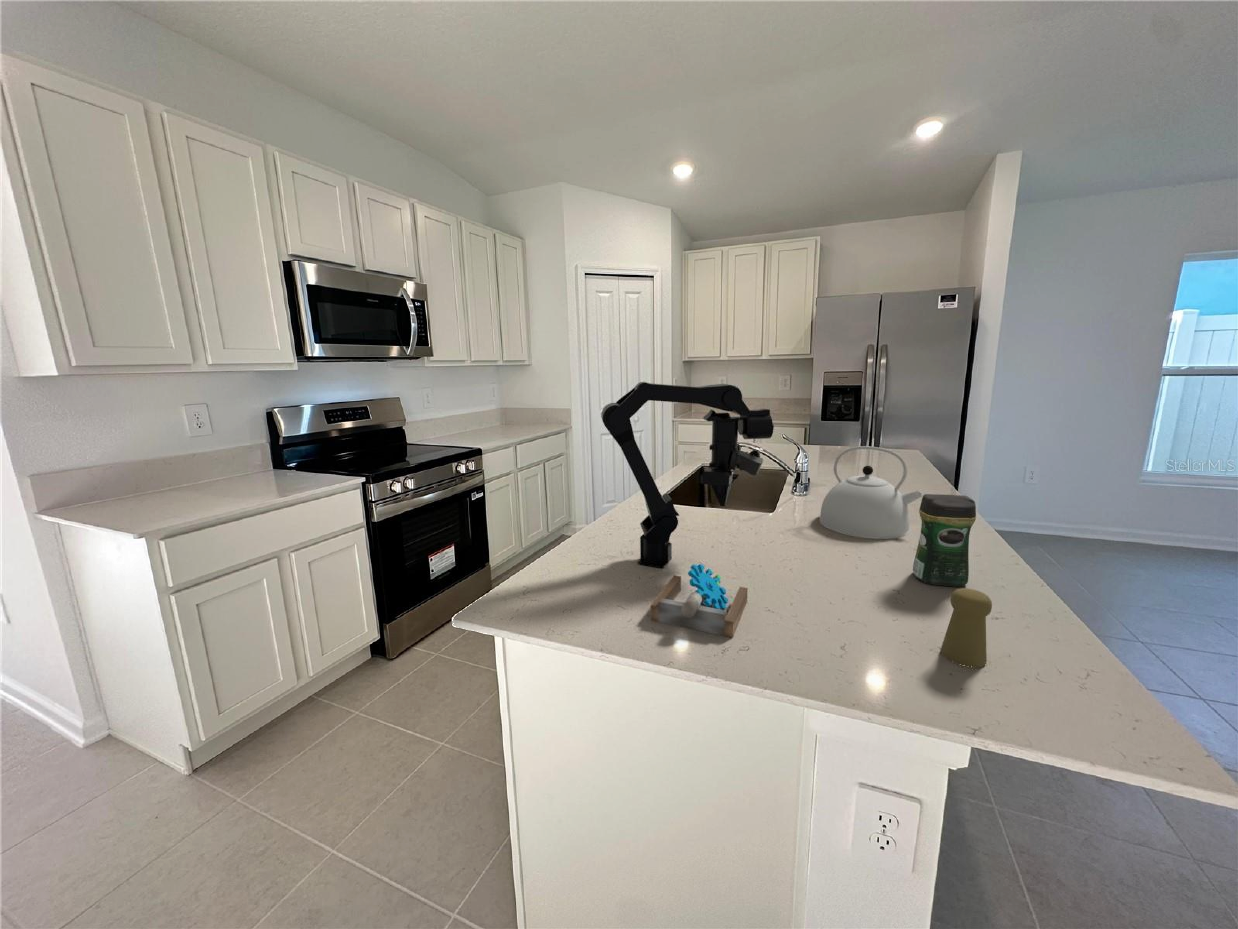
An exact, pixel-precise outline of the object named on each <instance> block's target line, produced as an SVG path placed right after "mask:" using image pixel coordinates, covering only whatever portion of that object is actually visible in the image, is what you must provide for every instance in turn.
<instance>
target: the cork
mask: <svg viewBox="0 0 1238 929" xmlns="http://www.w3.org/2000/svg"><path fill="white" fill-rule="evenodd" d="M992 602H993V601H992V600H991V598H990V597H989V595H987V594H986V593H984V592H983V591H979V590H977V589H973V588H967V587H966V588H965V587H963V588H961V587H960V588H956V589H955V590H954V591H953V592H952V594H951V596H950V605H951V607H952V609H953V610H952V613H951V616H950V619H949V623H948V624H947V625H948V626H947V629H946V632H945V634H944V638H943V641H942V645H941V647H940V650H941V651H940V653H941V655H942V656H943V657H944V658H945V657H946V658H945V659H947V660H948V661H950V662H952V661H953V662H952V663H954V662H955V663H954V664H956V663H957V664H956V665H959V664H961V665H960V666H962V665H965V666H969V667H968V668H971V666H972V667H980V668H982V667H981V666H984V665H985V664H986V665H987V663H986V662H988V661H987V659H988V658H987V655H988V654H987V616H989V615H990V614H991V612H992V607H993V603H992ZM986 665H985V666H986ZM965 666H964V667H965ZM985 666H984V667H985Z"/></svg>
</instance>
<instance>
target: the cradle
mask: <svg viewBox="0 0 1238 929" xmlns="http://www.w3.org/2000/svg"><path fill="white" fill-rule="evenodd" d="M748 588H749V587H745V586H743V587H742V586H739V588H738V589H737V591H736V595H735V596H734V599H733V601H732V603H731V605H730V607H729V610H728V612H727V610H726V609H724V610H720V609H715V608H712V607H710V606H708V607H707V606H706V605H705V606H704V605H701V604H702V603H703V596H701V595H700V594H699V593H697V592H695V591H693V592H691V593H690V594H689V595H688V597H687V599H686V600H685V602H684V601H678V600H675V599H676V598H677V596H678V595H679V593H680V592H681V590H682V576H680V575H676V574H675V575H674V574H673V576H672V577H671V578H670V579H669V581H668V582H667V584H666V585H665V586H664V588H663V589H661V591H660V593H659V594H658V595H657V596H656V597H655V599H654V600H653V602H652V603H651V604H650V621H654V622H658V623H663V624H667V625H672V626H678V627H681V628H686V629H691V630H695V631H701V632H705V633H709V634H714V635H718V636H722V637H723V636H724V637H728V638H734V637H735V633H736V632H737V628H738V626H739V624H740V621H741V618H742V616H743V614H744V610H745V607H746V606H747V603H748V590H749V589H748ZM679 591H680V592H679ZM678 592H679V593H678ZM677 594H678V595H677ZM675 597H676V598H675Z"/></svg>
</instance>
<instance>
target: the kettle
mask: <svg viewBox="0 0 1238 929" xmlns="http://www.w3.org/2000/svg"><path fill="white" fill-rule="evenodd" d="M856 450H870V451H871V450H873V451H879V452H884V453H888V454H890V455H892V456H894V457H896V459H898V460H899V462H901V464H902V467H903V472H902V476H901V477H902V478H900V481H899V482H898V483H897V484H896V486H894V485H892V484H890V482H888V481H886V480H885V479H882V478H880V477H876V476H871V475H872V474H873V472H874V468H873V467H872V466H871V465H865V466H863V468H862V473H863V475H854V476H850V477H848V478H846V479H844V480H842V479H841V477H840V476H839V473H838V464H839V460H841V458H842V457H843V456H844V455H846V454H848V453H849V452H852V451H856ZM907 468H908V467H907V464H906V461H905V460H904V458H903V457H902V456H901V455H900V454H898V453H897V452H894V451H893V450H890V449H887V448H883V447H878V446H868V445H863V446H862V445H861V446H853V447H849V448H846V449H845V450H843V451H842V452H840V454H838V455H837V457H836V458H835V461H834V464H833V474H834V476H835V478H836V480H838V483H836V484H835V485H834V486H833V487H831V489H830V490H829V491H828V492H827V494H826V495H825V496H824V498H823V500H822V503H821V508H820V515H819V522H820V524H821V525H822V526H823V527H825V528H827V529H828V530H830V531H834V532H836V533H838V534H843V535H846V536H850V537H851V536H852V537H856V538H862V539H863V538H864V539H873V540H875V539H876V540H890V539H898V538H902V537H905V536H907V535H908V534H909V533H910V519H911V518H910V517H911V516H910V510H909V509H910V508H909V506H908V505H909V504H911V503H912V502H914V501H916V500H919V499H920V498H922V497H923V495H924V494H923V493H921V492H920V491H918V490H912V491H908V492H904V493H901V492H900V491H899V489H900V488H901V486H902V485H903V483H904V482H905V480H906V478H907V475H908V469H907Z"/></svg>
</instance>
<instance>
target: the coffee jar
mask: <svg viewBox="0 0 1238 929" xmlns="http://www.w3.org/2000/svg"><path fill="white" fill-rule="evenodd" d="M976 509H977V507H976V502H975V500H974V499H973V498H971V497H969V496H967V495H960V494H958V495H957V494H939V493H937V494H935V493H934V494H929V493H924V494H923V496H922V497H921V502H920V506H919V510H918V512H919V518H920V520H921V525H920V526H921V528H920V534H919V539H918V543H917V549H916V552H915V556H914V561H913V565H912V572H913V575H914V576H915V578H917V579H918V580H920V581H922V582H924V583H926V584H929V585H936V586H949V587H964V586H965V585H967V584H968V583H969V574H970V571H969V569H970V566H969V565H970V564H969V555H970V554H969V552H970V551H969V547H970V545H969V544H970V535H971V531H972V530H971V529H972V527H973V526H974V523H975V521H976V518H977V510H976Z"/></svg>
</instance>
